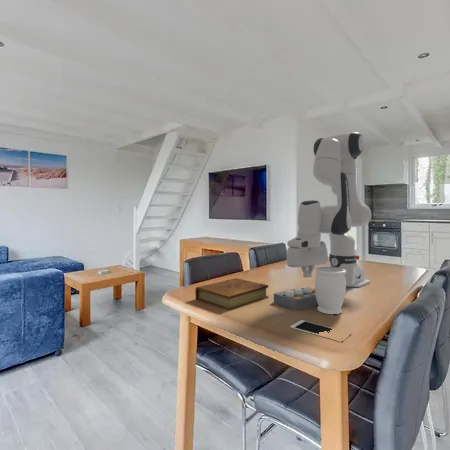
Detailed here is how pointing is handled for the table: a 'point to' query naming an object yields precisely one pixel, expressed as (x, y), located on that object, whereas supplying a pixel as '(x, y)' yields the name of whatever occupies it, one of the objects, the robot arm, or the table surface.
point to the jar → (330, 289)
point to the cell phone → (310, 327)
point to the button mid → (299, 292)
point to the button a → (289, 294)
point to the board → (296, 300)
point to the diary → (231, 293)
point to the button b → (308, 290)
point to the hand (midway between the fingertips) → (307, 276)
